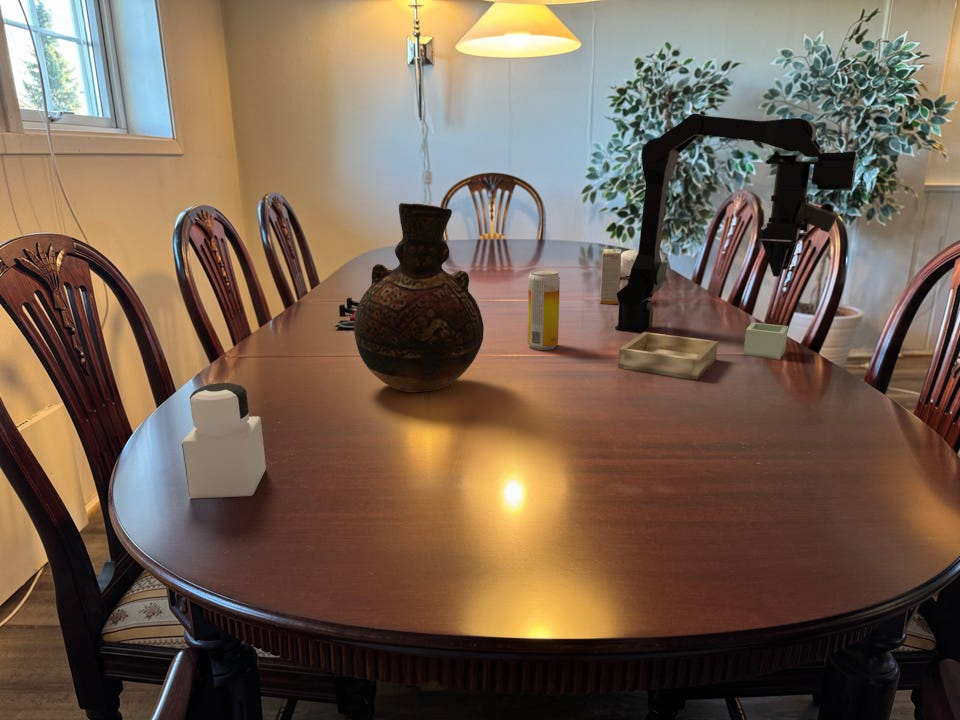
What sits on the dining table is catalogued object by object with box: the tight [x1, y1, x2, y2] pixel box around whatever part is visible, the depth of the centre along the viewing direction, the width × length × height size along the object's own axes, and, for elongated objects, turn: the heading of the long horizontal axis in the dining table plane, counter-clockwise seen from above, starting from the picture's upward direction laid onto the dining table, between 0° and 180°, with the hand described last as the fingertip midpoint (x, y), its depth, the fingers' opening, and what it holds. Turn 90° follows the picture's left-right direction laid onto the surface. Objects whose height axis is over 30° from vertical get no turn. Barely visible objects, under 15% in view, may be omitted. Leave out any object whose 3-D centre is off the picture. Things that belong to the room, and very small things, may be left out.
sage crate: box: [743, 322, 789, 361], centre depth 131 cm, size 6×6×5 cm
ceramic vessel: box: [353, 202, 485, 393], centre depth 110 cm, size 21×18×30 cm
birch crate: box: [617, 331, 719, 381], centre depth 125 cm, size 14×14×4 cm
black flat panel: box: [334, 297, 359, 328], centre depth 164 cm, size 30×3×15 cm
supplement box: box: [599, 248, 622, 305], centre depth 176 cm, size 8×5×13 cm, turn 168°
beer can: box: [527, 269, 561, 351], centre depth 135 cm, size 6×6×15 cm
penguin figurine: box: [620, 249, 638, 277], centre depth 209 cm, size 6×8×12 cm
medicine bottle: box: [181, 382, 267, 499], centre depth 79 cm, size 7×7×12 cm
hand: (780, 272), depth 132 cm, fingers open, 9 cm apart
